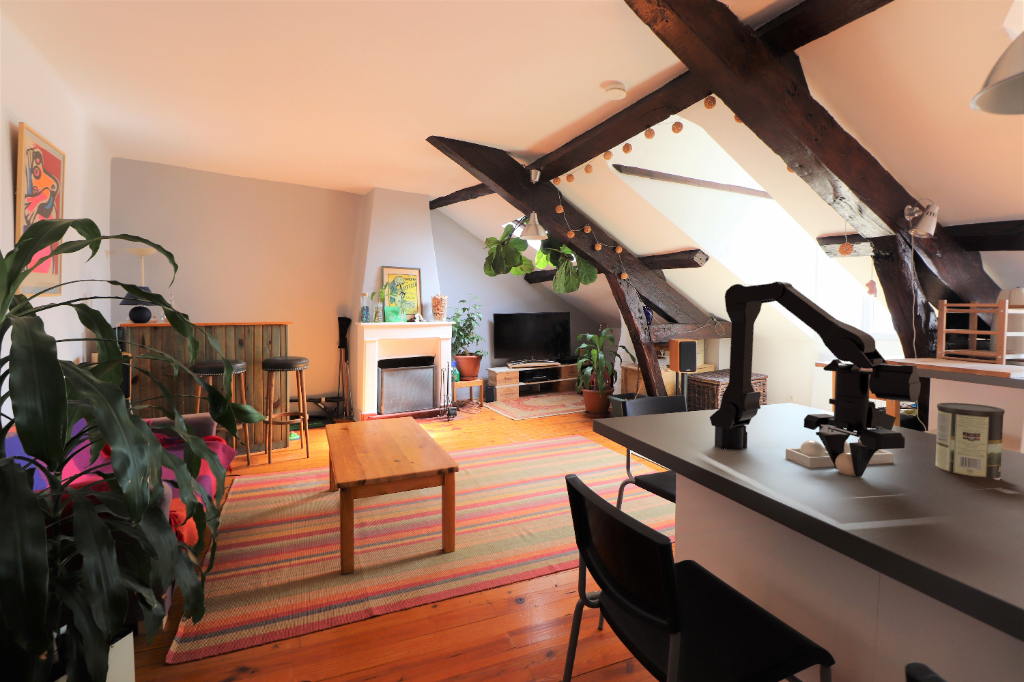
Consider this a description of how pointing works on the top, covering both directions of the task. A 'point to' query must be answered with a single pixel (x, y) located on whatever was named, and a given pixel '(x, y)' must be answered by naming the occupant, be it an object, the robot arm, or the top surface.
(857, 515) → the top surface
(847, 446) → the cream egg
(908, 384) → the robot arm
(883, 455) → the carton
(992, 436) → the coffee can
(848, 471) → the brown egg
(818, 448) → the cream egg
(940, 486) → the top surface
